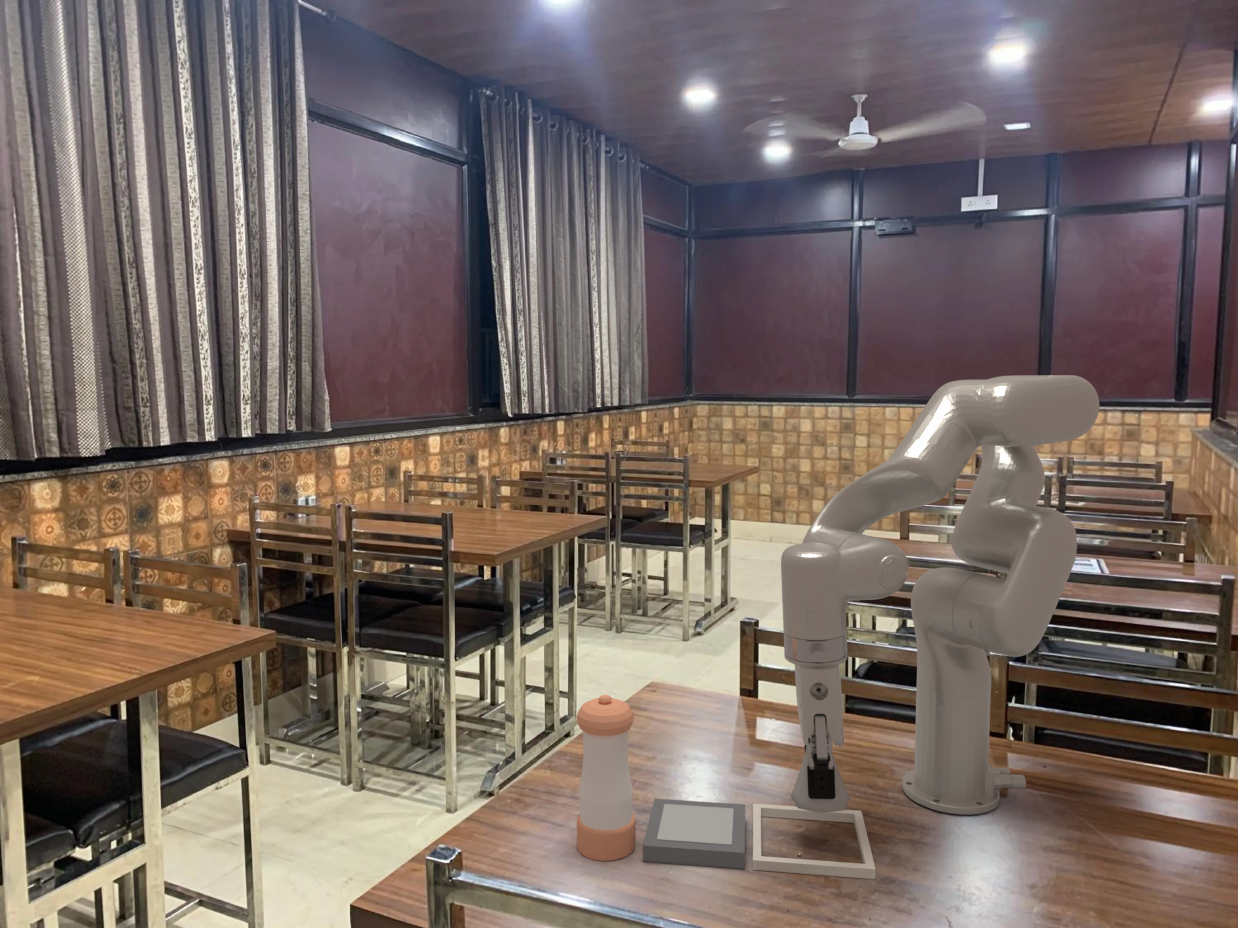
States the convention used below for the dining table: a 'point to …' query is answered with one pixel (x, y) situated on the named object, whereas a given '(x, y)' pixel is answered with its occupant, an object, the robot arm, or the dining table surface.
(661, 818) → the slate pad
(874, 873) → the tray frame
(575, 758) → the dining table surface
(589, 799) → the salt shaker
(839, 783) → the flask
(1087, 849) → the dining table surface
